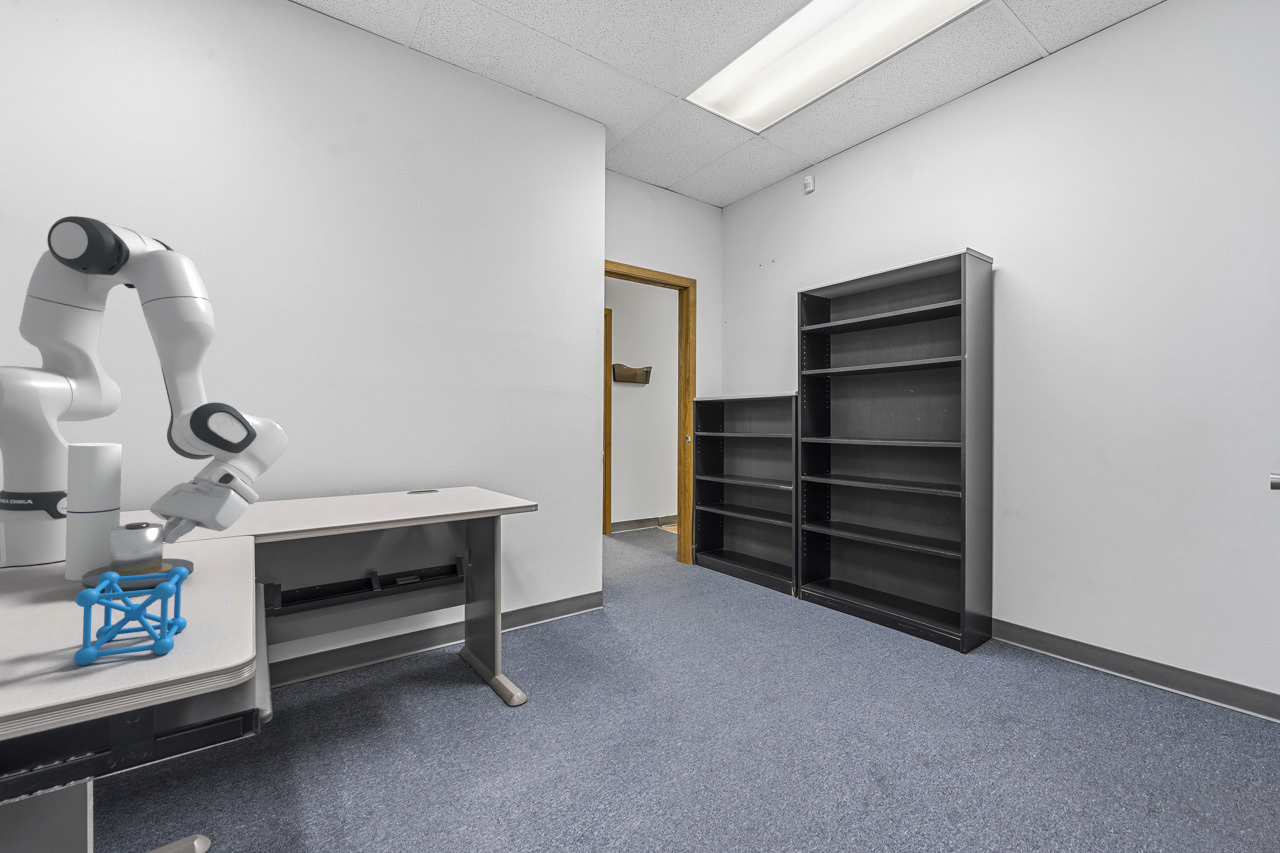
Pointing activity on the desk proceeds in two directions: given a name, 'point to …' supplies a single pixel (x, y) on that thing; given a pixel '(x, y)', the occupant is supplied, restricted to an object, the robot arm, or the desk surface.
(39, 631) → the desk surface
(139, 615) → the molecular structure
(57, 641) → the desk surface
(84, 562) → the cylindrical container
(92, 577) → the turntable platter
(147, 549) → the silver metal canister
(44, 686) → the desk surface
